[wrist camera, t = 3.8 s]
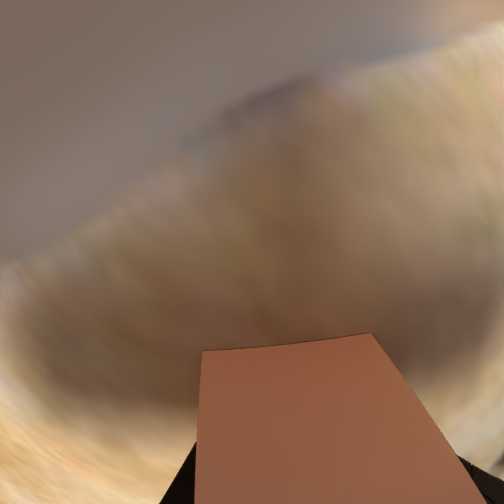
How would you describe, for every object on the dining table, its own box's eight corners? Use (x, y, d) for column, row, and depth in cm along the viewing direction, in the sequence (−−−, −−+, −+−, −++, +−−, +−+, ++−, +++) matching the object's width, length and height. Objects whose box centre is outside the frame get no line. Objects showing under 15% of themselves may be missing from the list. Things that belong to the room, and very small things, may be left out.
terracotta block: (370, 333, 9) (498, 522, 2) (349, 436, 11) (409, 585, 4) (202, 351, 9) (194, 607, 2) (220, 453, 10) (230, 621, 4)
